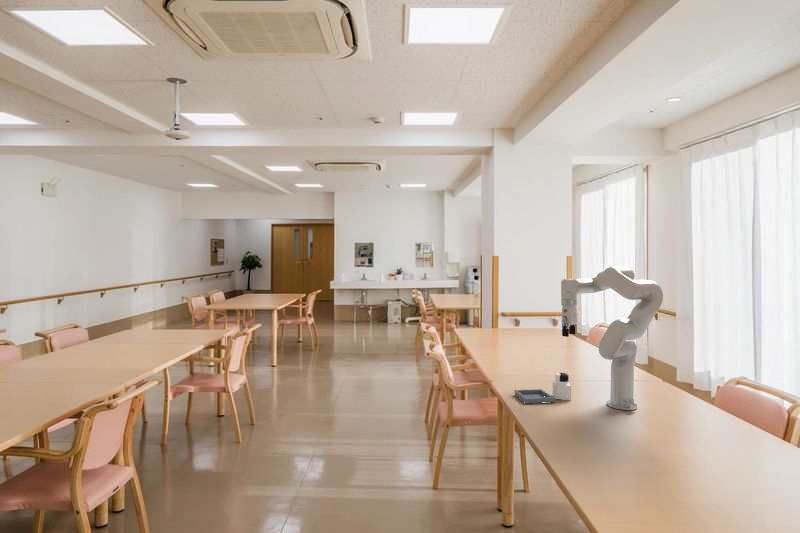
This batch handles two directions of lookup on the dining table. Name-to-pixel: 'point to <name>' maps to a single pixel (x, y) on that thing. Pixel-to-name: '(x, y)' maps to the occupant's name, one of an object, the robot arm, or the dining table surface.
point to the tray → (533, 396)
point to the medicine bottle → (561, 387)
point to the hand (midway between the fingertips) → (568, 335)
